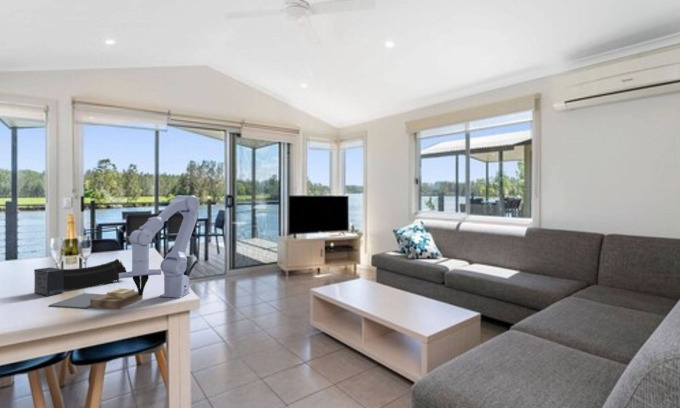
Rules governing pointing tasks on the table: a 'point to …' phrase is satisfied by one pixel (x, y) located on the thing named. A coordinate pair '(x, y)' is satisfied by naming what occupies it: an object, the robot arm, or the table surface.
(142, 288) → the robot arm
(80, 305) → the charcoal mat
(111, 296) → the birch tile
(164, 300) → the table surface
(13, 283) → the table surface
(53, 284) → the small box
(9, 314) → the table surface
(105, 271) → the magazine
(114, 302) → the block
